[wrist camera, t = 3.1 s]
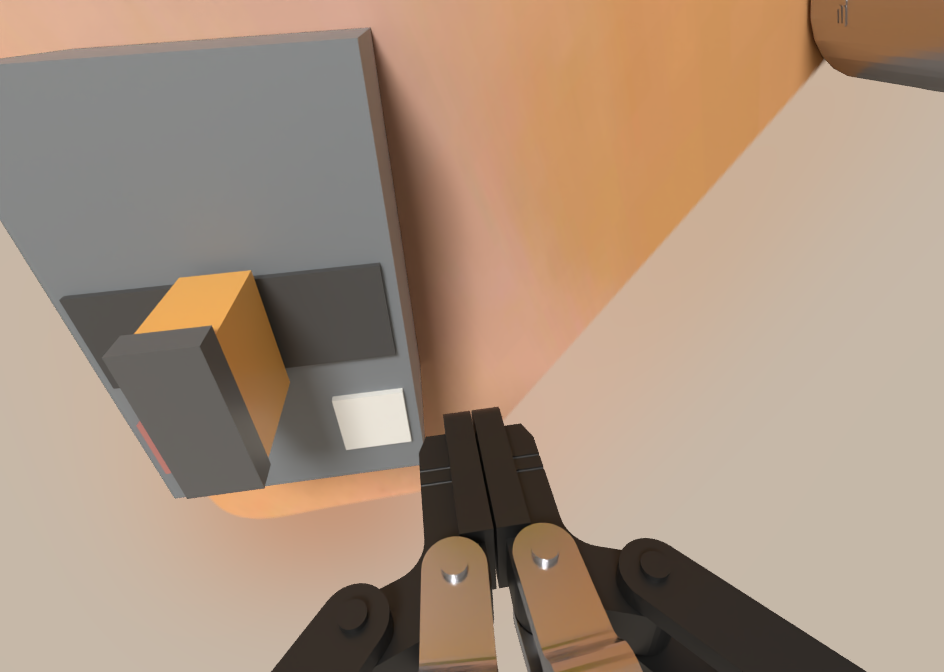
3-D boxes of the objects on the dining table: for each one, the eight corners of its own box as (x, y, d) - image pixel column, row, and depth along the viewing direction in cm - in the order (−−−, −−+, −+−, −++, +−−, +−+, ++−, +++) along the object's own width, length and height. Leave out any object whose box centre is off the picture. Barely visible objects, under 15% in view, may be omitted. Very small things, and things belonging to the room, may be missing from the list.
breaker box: (370, 27, 21) (356, 38, 14) (420, 365, 31) (426, 469, 24) (70, 49, 20) (-103, 72, 13) (223, 389, 30) (172, 503, 23)
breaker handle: (248, 262, 17) (199, 346, 13) (292, 388, 20) (264, 488, 16) (175, 270, 16) (101, 357, 12) (231, 395, 20) (187, 498, 16)
